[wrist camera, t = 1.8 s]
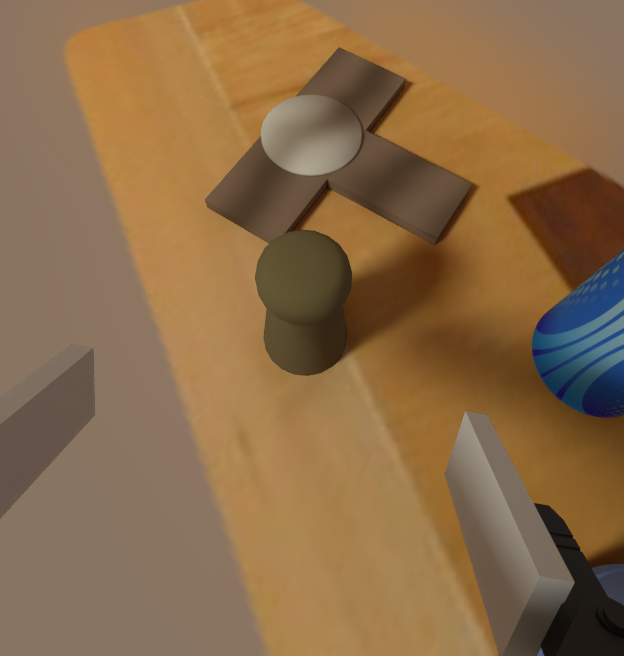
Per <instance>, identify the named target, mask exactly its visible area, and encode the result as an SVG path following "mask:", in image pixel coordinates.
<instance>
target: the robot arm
mask: <svg viewBox="0 0 624 656" xmlns="http://www.w3.org/2000/svg"><path fill="white" fill-rule="evenodd" d="M94 415H95V394H94V352H93V348H90V347H84V346H79V345H73V344H71V345H70V346H69V347H68V348H66V349H65V350H63V351H62V352H61V353H59V354H58V355H57V356H55V357H54V358H53V359H51V360H50V361H49V362H47V363H46V364H45V365H43V366H42V367H41V368H39V369H38V370H37V371H35V372H34V373H32V374H31V375H30V376H28V377H27V378H26V379H24V380H23V381H22V382H20V383H19V384H18V385H16V386H15V387H14V388H12V389H11V390H10V391H8V392H7V393H6V394H4V395H3V396H1V397H0V518H1V517H2V516H3V515H4V514H5V513H6V512H7V511H8V510H9V509H10V507H11V506H12V505H13V504H14V503H15V502H16V501H17V500H18V499H19V497H20V496H21V495H22V494H23V493H24V492H25V491H26V490H27V489H28V488H29V487H30V486H31V484H32V483H33V482H34V481H35V480H36V479H37V478H38V477H39V476H40V475H41V473H42V472H43V471H44V470H45V469H46V468H47V467H48V466H49V465H50V463H51V462H52V461H53V460H54V459H55V458H56V457H57V456H58V455H59V453H61V451H62V450H63V449H64V448H65V447H66V446H67V445H68V444H69V443H70V442H71V441H72V439H73V438H74V437H75V436H76V435H77V434H78V433H79V432H80V431H81V429H83V427H84V426H85V425H86V424H87V423H88V422H89V421H90V420H91V419H92V418H93V417H94ZM445 477H446V480H447V484H448V487H449V490H450V493H451V497H452V500H453V503H454V507H455V510H456V513H457V517H458V520H459V523H460V527H461V530H462V533H463V537H464V540H465V543H466V546H467V550H468V553H469V556H470V560H471V563H472V566H473V570H474V573H475V576H476V580H477V583H478V586H479V590H480V593H481V596H482V599H483V603H484V606H485V609H486V613H487V616H488V619H489V623H490V626H491V629H492V633H493V636H494V639H495V643H496V646H497V649H498V653H499V656H537V654H538V653H539V651H540V649H542V651H543V654H544V656H624V605H622V604H621V603H619V602H617V601H615V600H613V599H611V598H609V597H608V596H607V594H606V592H605V591H604V589H603V587H602V585H601V584H600V582H599V580H598V578H597V577H596V575H595V573H594V572H593V570H592V568H591V566H590V565H589V563H588V561H587V559H586V558H585V556H584V554H583V553H582V552H580V547H579V546H578V544H577V542H576V540H575V539H573V535H572V534H571V532H570V530H569V528H568V527H567V525H566V523H565V522H564V520H563V519H562V518H561V517H560V516H559V515H558V514H557V513H556V512H555V511H554V510H553V509H552V508H551V507H550V506H548V505H542V504H536V503H533V501H532V500H531V498H530V496H529V494H528V492H527V490H526V488H525V486H524V484H523V482H522V480H521V479H520V477H519V475H518V473H517V471H516V469H515V467H514V465H513V463H512V461H511V459H510V457H509V456H508V454H507V452H506V450H505V448H504V446H503V444H502V442H501V440H500V438H499V436H498V435H497V433H496V431H495V429H494V427H493V425H492V423H491V421H490V419H489V417H488V415H485V414H479V413H473V412H467V411H465V414H464V417H463V420H462V423H461V426H460V429H459V432H458V435H457V438H456V442H455V445H454V448H453V451H452V454H451V457H450V460H449V463H448V466H447V469H446V472H445Z"/></svg>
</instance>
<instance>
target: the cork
mask: <svg viewBox="0 0 624 656" xmlns="http://www.w3.org/2000/svg"><path fill="white" fill-rule="evenodd" d="M255 280H256V285H257V290H258V294H259V297H260V298H261V300H262V302H263V303H264V305H265V307H266V308H267V311H266V320H265V330H264V342H265V347H266V351H267V352H268V354H269V356H270V358H271V359H272V361H273V362H274V363H276V364H277V365H278V366H279V367H280V368H281V369H283V370H285V371H287V372H290V373H292V374H295V375H305V376H309V375H313V374H318V373H321V372H323V371H325V370H327V369H329V368H330V367H332V366H333V365H334V364H335V363H336V362H337V360H338V359H339V358H340V357H341V355H342V353H343V351H344V348H345V346H346V336H347V332H346V326H345V320H344V314H343V307H342V306H343V305H344V303H345V301H346V299H347V297H348V294H349V292H350V289H351V280H352V271H351V267H350V264H349V260H348V257H347V255H346V253H345V252H344V251H343V249H342V248H341V246H340V245H339V244H338V243H337V242H335V241H334V240H333V239H331V238H330V237H329V236H326V235H324V234H321V233H319V232H316V231H310V230H297V231H291V232H288V233H286V234H284V235H282V236H279V237H277V238H275V239H274V240H273V241H272V242H271V243H270V244H269V245H268V246H267V247H266V248H265V249H264V251H263V253H262V254H261V256H260V258H259V260H258V263H257V269H256V275H255Z"/></svg>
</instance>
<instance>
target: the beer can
mask: <svg viewBox="0 0 624 656" xmlns="http://www.w3.org/2000/svg"><path fill="white" fill-rule="evenodd" d="M532 356H533V361H534V365H535V367H536V370H537V372H538V374H539V376H540V378H541V380H542V381H543V383H544V384H545V386H546V387H547V388H548V389H549V390H550V392H551V393H552V394H553V395H554V396H555V397H557V398H558V399H559V400H560V401H561V402H563V403H564V404H566V405H567V406H569V407H571V408H572V409H574V410H577V411H579V412H581V413H584V414H587V415H591V416H596V417H619V416H623V415H624V250H623V251H621V252H620V253H619V254H618V255H617V256H615V257H614V258H613V259H612V260H610V261H609V262H608V263H607V264H605V265H604V266H603V267H602V268H601V269H599V270H598V271H597V272H596V273H594V274H593V275H592V276H591V277H589V278H588V279H587V280H586V281H585V282H583V283H582V284H581V285H580V286H578V287H577V288H576V289H575V290H573V291H572V292H571V293H570V294H569V295H567V296H566V297H565V298H564V299H562V300H561V301H560V302H559V303H557V304H556V305H555V306H554V307H553V308H551V309H550V310H549V311H548V312H547V313H545V314H544V316H543V317H542V318H541V319H540V321H539V322H538V324H537V326H536V328H535V330H534V333H533V337H532Z"/></svg>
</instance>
